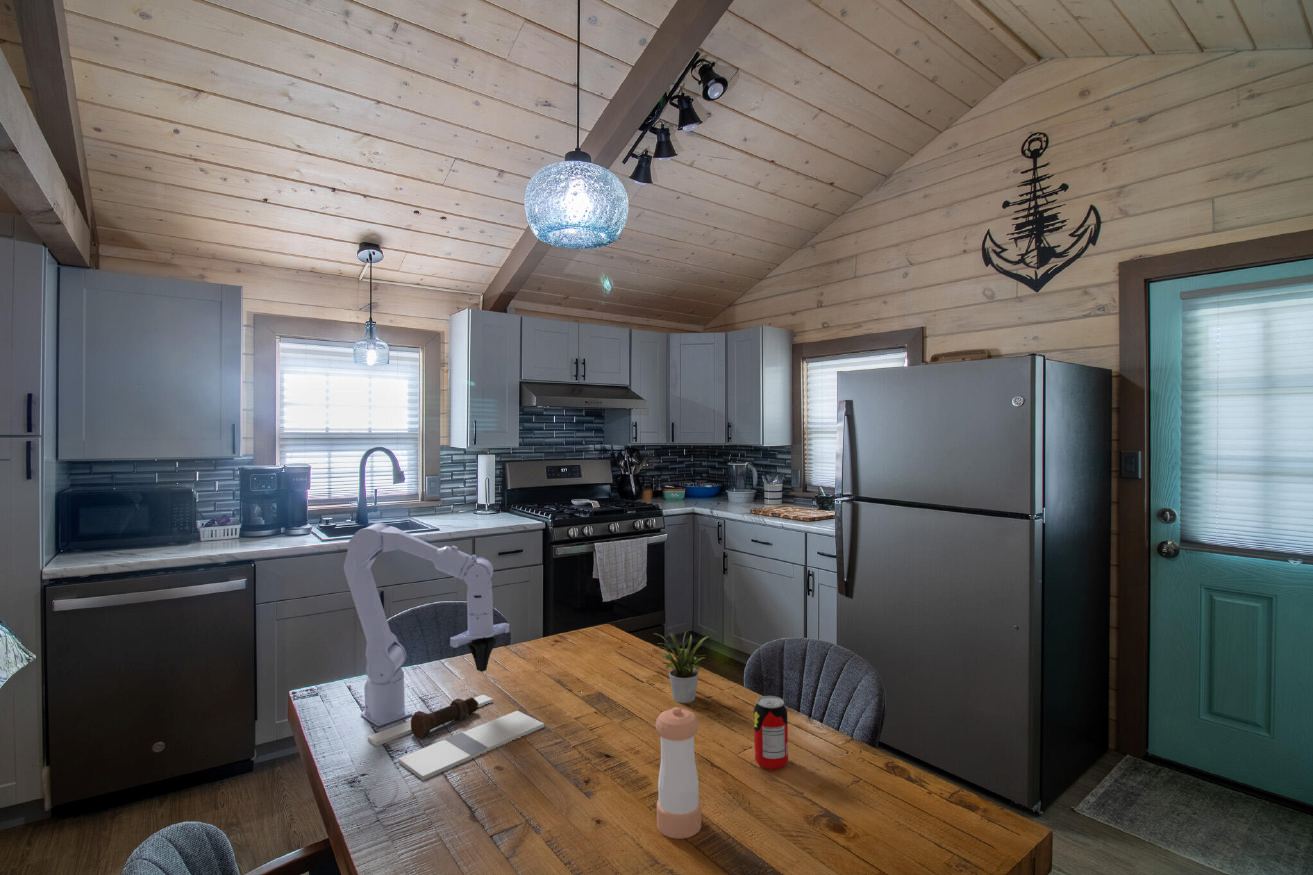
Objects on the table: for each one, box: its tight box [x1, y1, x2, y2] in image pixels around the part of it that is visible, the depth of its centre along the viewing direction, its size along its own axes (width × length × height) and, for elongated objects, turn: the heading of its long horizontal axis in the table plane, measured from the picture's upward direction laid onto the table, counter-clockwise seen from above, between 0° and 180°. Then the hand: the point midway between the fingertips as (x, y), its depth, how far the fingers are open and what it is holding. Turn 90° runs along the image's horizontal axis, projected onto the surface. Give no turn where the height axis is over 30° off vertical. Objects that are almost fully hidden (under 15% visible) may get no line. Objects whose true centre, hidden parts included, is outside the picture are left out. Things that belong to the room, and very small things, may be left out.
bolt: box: [410, 697, 479, 740], centre depth 143 cm, size 6×5×15 cm
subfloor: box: [367, 694, 545, 781], centre depth 138 cm, size 24×28×1 cm
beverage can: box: [753, 695, 789, 771], centre depth 123 cm, size 6×6×12 cm
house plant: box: [652, 630, 710, 704], centre depth 153 cm, size 14×14×16 cm
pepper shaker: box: [655, 706, 702, 840], centre depth 104 cm, size 7×7×19 cm
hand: (481, 669), depth 149 cm, fingers closed
